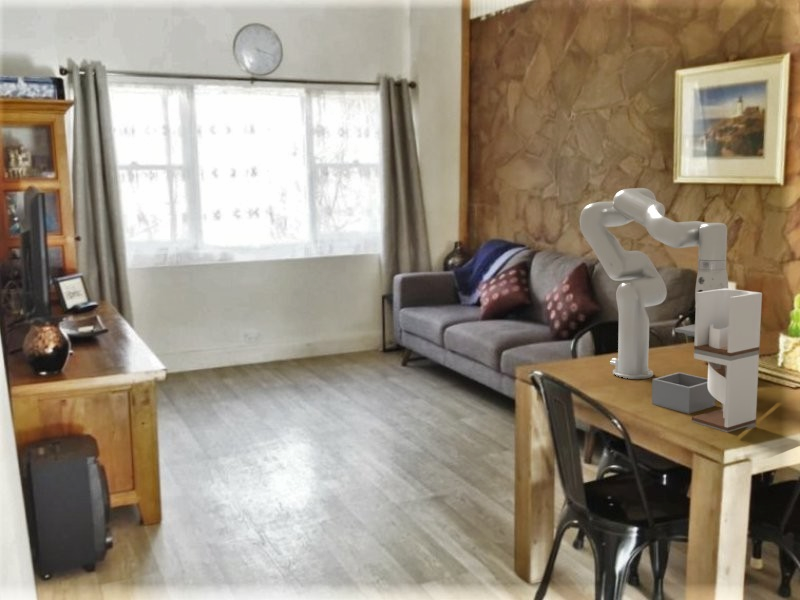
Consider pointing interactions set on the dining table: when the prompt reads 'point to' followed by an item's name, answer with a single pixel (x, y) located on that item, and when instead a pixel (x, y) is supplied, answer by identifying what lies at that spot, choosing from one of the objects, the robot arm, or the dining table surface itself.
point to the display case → (729, 354)
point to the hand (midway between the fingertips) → (709, 327)
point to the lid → (687, 330)
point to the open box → (682, 393)
